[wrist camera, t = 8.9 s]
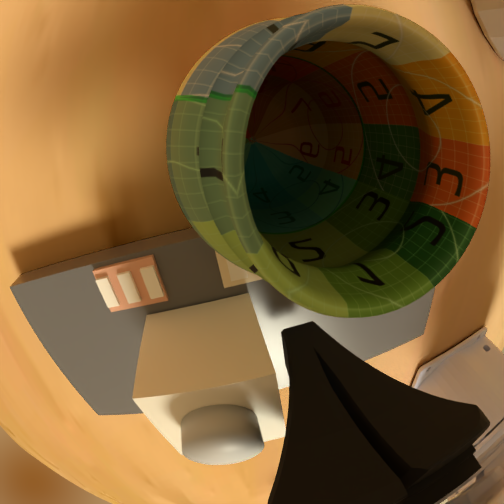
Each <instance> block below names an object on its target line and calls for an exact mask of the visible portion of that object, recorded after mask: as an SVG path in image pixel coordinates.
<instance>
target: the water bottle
mask: <svg viewBox="0 0 504 504" xmlns="http://www.w3.org/2000/svg"><path fill="white" fill-rule="evenodd" d="M471 3H472V6H473V10H474V14H475V16H476V18H477V20H478V22H479V25H480V27H481V29H482V31H483V33H484V35H485V37H486V38H487V40H488V41H489V43H490V44H491V46H492V47H493V49H494V51H495V52H496V54H497V55H498V56H499V57H500V58H501V59H502V60H503V61H504V0H471Z"/></svg>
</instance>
